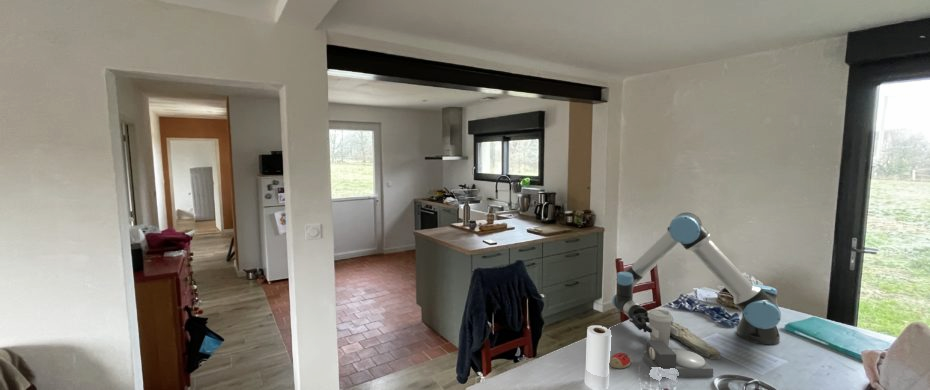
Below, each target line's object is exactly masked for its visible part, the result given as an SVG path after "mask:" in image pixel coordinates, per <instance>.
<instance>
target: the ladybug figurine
mask: <svg viewBox="0 0 930 390" xmlns="http://www.w3.org/2000/svg"><path fill="white" fill-rule="evenodd" d="M609 365H610V366H611V367H612V368H614V369H618V370H619V369H626V368H627V367H630V365H631V358H630V357H629V355H628V354H627V353H625V352H616V353H615V354H614V355H612V356H611V357H610V359H609Z"/></svg>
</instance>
